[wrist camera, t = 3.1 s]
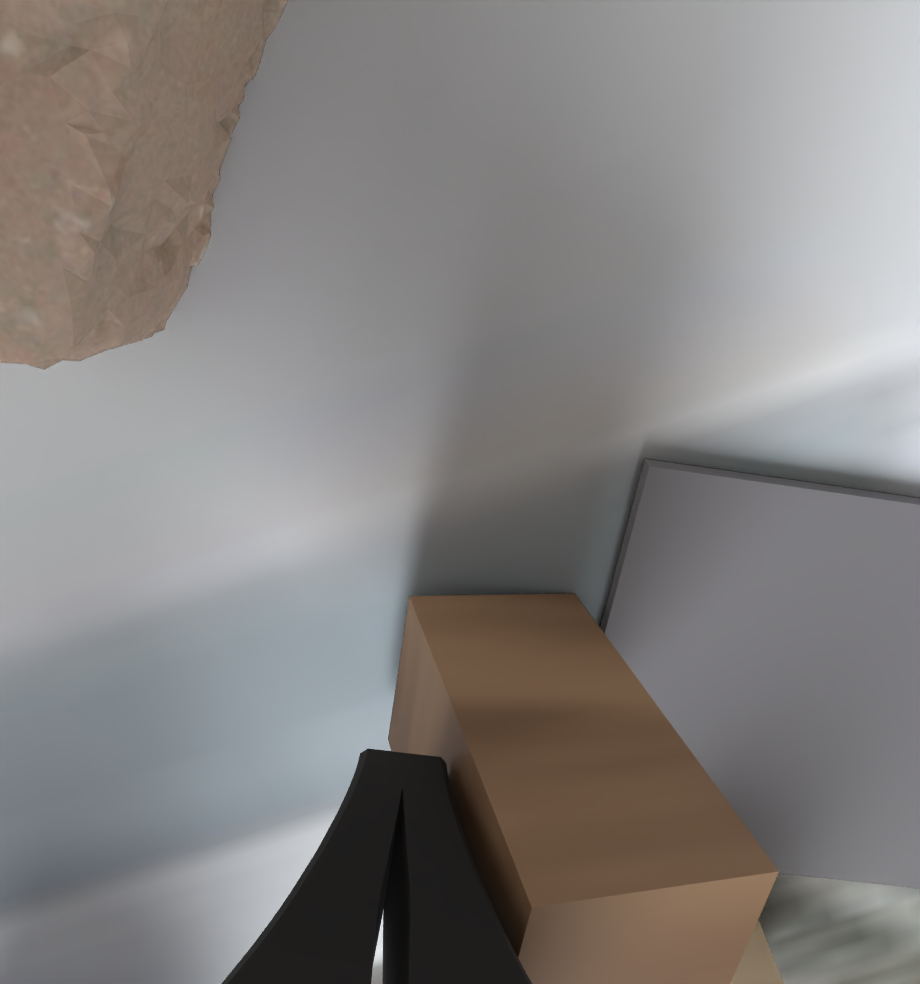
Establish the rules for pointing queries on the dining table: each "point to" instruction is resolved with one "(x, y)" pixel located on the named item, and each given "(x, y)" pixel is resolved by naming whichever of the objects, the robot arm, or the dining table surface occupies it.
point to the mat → (784, 656)
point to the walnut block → (576, 795)
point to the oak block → (757, 962)
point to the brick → (112, 161)
